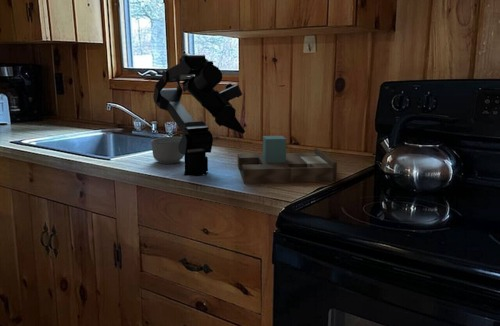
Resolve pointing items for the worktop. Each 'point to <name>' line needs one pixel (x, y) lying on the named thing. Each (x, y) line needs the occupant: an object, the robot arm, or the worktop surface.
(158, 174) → the worktop surface
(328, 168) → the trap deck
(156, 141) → the teacup
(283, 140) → the teal block
